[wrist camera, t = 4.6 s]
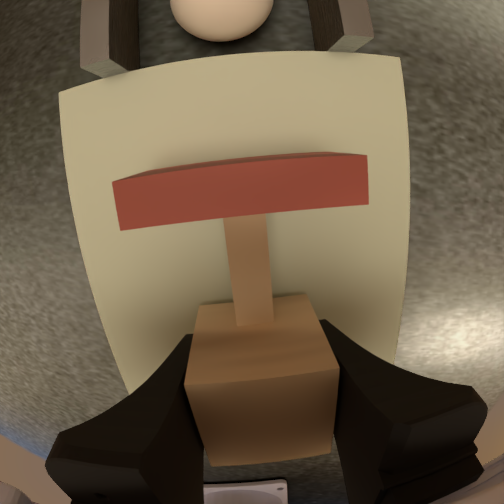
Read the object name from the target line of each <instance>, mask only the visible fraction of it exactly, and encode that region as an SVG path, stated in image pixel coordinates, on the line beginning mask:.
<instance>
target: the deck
mask: <svg viewBox="0 0 504 504" xmlns="http://www.w3.org/2000/svg"><path fill="white" fill-rule="evenodd" d="M59 107H60V121H61V133H62V143H63V152H64V160H65V168H66V175H67V181H68V187H69V193H70V199H71V205H72V210H73V215H74V220H75V225H76V230H77V234H78V239H79V243H80V247H81V252H82V256H83V260H84V264H85V267H86V271H87V275H88V279H89V282H90V286H91V289H92V293H93V296H94V299H95V303H96V306H97V309H98V312H99V315H100V318H101V321H102V324H103V327H104V330H105V333H106V336H107V339H108V342H109V345H110V347H111V350H112V353H113V355H114V358H115V361H116V363H117V366H118V368H119V371H120V373H121V376H122V378H123V381H124V383H125V385H126V388H127V390H128V392H129V395H130V394H131V393H132V392H134V391H135V390H136V389H137V388H138V387H140V386H141V385H142V384H143V383H144V382H145V381H146V380H147V379H148V378H149V377H150V376H151V375H152V374H153V373H154V372H155V371H156V370H157V369H158V368H159V366H160V365H161V364H162V363H163V362H164V361H165V359H166V358H167V357H168V356H169V355H170V353H171V352H172V351H173V350H174V348H175V347H176V346H177V344H178V343H179V342H180V341H181V339H182V338H183V337H184V336H185V335H186V334H194V329H195V323H196V318H197V313H198V309H199V306H200V305H211V304H221V303H231V302H234V301H233V293H232V286H231V278H230V270H229V263H228V255H227V247H226V239H225V231H224V223H223V218H219V219H210V220H202V221H193V222H185V223H177V224H169V225H161V226H153V227H146V228H138V229H131V230H124V231H120V227H119V222H118V216H117V211H116V205H115V199H114V193H113V187H112V182H113V181H116V180H119V179H122V178H125V177H128V176H132V175H135V174H138V173H141V172H145V171H148V170H153V169H160V168H166V167H172V166H179V165H186V164H193V163H201V162H209V161H217V160H226V159H235V158H244V157H255V156H266V155H278V154H292V153H308V152H340V153H351V154H361V155H367V161H368V186H369V205H357V206H344V207H332V208H320V209H308V210H297V211H286V212H276V213H266V226H267V237H268V249H269V261H270V273H271V286H272V298H277V297H286V296H294V295H302V294H307V296H308V298H309V301H310V303H311V305H312V307H313V309H314V311H315V314H316V316H317V318H318V320H321V319H326V320H327V321H329V322H330V323H331V324H332V325H334V326H335V327H336V328H337V329H339V330H340V331H341V332H342V333H344V334H345V335H346V336H347V337H349V338H350V339H351V340H353V341H354V342H356V343H357V344H358V345H360V346H361V347H363V348H364V349H366V350H367V351H369V352H371V353H372V354H374V355H376V356H377V357H379V358H381V359H383V360H385V361H387V362H389V363H391V364H394V359H395V354H396V348H397V342H398V336H399V330H400V323H401V316H402V308H403V300H404V291H405V282H406V271H407V258H408V243H409V221H410V161H409V139H408V124H407V112H406V102H405V92H404V84H403V76H402V69H401V62H400V58H399V57H392V56H383V55H374V54H363V53H349V52H329V51H278V52H257V53H243V54H232V55H222V56H213V57H206V58H198V59H191V60H185V61H179V62H173V63H168V64H162V65H157V66H152V67H148V68H143V69H139V70H134V71H130V72H126V73H122V74H118V75H114V76H110V77H107V78H103V79H100V80H96V81H93V82H90V83H86V84H83V85H80V86H77V87H74V88H71V89H68V90H65V91H62V92H59Z"/></svg>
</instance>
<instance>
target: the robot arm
mask: <svg viewBox="0 0 504 504" xmlns="http://www.w3.org/2000/svg"><path fill="white" fill-rule="evenodd" d="M319 322H320V325H321V327H322V329H323V331H324V333H325V336H326V338H327V340H328V342H329V345H330V347H331V349H332V351H333V354H334V356H335V358H336V360H337V363H338V365H339V367H340V371H339V383H338V394H337V404H336V413H335V422H334V430H333V434H334V437H335V441H336V445H337V449H338V453H339V457H340V461H341V466H342V470H343V475H344V479H345V485H346V490H347V495H348V500H349V504H504V453H503V454H502V455H500V456H498V457H497V458H495V459H494V460H491V461H490V462H488V463H486V464H484V465H483V466H482V465H481V464H480V462H479V460H478V459H477V457H476V455H475V454H476V453H477V451H478V448H477V447H476V445H475V444H474V442H473V441H474V440H475V438H476V436H477V434H478V433H479V431H480V429H481V427H482V426H483V424H484V421H485V419H486V417H487V411H488V407H487V405H486V403H485V402H484V401H483V400H482V398H481V397H480V396H479V395H478V393H477V392H476V391H475V390H474V388H473V387H472V386H467V385H460V384H453V383H447V382H442V381H438V380H434V379H430V378H427V377H423V376H420V375H417V374H415V373H412V372H409V371H406V370H404V369H401V368H399V367H397V366H395V365H393V364H391V363H389V362H387V361H385V360H383V359H381V358H379V357H377V356H376V355H374V354H372V353H371V352H369V351H367V350H366V349H364V348H363V347H361V346H360V345H358V344H357V343H356V342H354V341H353V340H351V339H350V338H349V337H347V336H346V335H345V334H344V333H342V332H341V331H340V330H339V329H337V328H336V327H335V326H334V325H332V324H331V323H330V322H329V321H327V320H326V319H321V320H319ZM192 339H193V334H186V335H185V336H184V337H183V338H182V339H181V341H180V342H179V343H178V344H177V346H176V347H175V348H174V350H173V351H172V352H171V353H170V355H169V356H168V357H167V358H166V359H165V361H164V362H163V363H162V364H161V365H160V366H159V368H158V369H157V370H156V371H155V372H154V373H153V374H152V375H151V376H150V377H149V378H148V379H147V380H146V381H145V382H144V383H143V384H142V385H141V386H140V387H138V388H137V389H136V390H135V391H134V392H132V393H131V394H130V395H129V396H127V397H126V398H125V399H123V400H122V401H120V402H119V403H117V404H116V405H114V406H113V407H111V408H110V409H108V410H107V411H105V412H103V413H102V414H100V415H98V416H96V417H94V418H92V419H90V420H88V421H86V422H84V423H82V424H79V425H77V426H75V427H72V428H70V429H67V430H65V431H62V432H59V434H58V436H57V438H56V440H55V442H54V444H53V447H52V449H51V451H50V453H49V455H48V457H47V460H46V463H45V467H46V470H47V472H48V474H49V475H50V477H51V478H52V479H53V481H54V482H55V483H56V484H57V485H58V486H59V487H60V488H61V489H62V490H63V491H64V492H65V493H66V494H67V495H68V496H69V497H70V498H71V499H72V501H71V504H288V499H287V482H286V480H283V479H279V480H270V481H260V482H248V483H231V484H204V482H203V452H204V445H203V442H202V439H201V436H200V433H199V430H198V427H197V424H196V421H195V418H194V415H193V412H192V409H191V406H190V403H189V400H188V397H187V393H186V390H185V387H184V382H185V376H186V371H187V365H188V360H189V354H190V349H191V344H192ZM0 504H38V503H35V502H32V501H31V500H30V499H29V498H28V497H27V496H26V495H25V494H24V493H23V492H22V491H20V490H19V489H17V488H15V487H13V486H11V485H8V484H6V483H4V482H1V481H0Z"/></svg>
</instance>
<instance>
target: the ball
mask: <svg viewBox="0 0 504 504" xmlns="http://www.w3.org/2000/svg"><path fill="white" fill-rule="evenodd" d="M273 1H274V0H170V6H171V10H172V13H173V15H174V17H175V19H176V21H177V22H178V23H179V25H180V26H181V27H182V28H183V29H185V30H186V31H187V32H188V33H190V34H192V35H194V36H196V37H198V38H201V39H204V40H208V41H216V42H223V41H232V40H236V39H239V38H242V37H245V36H247V35H249V34H250V33H252V32H254V31H255V30H256V29H257V28H259V27H260V26H261V25H262V24H263V23H264V21H265V20H266V19H267V17H268V16H269V14H270V12H271V9H272V6H273Z"/></svg>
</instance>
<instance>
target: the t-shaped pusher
mask: <svg viewBox="0 0 504 504" xmlns="http://www.w3.org/2000/svg"><path fill="white" fill-rule="evenodd" d="M112 187H113V193H114V199H115V205H116V211H117V216H118V222H119V227H120V231H124V230H131V229H138V228H146V227H153V226H161V225H169V224H177V223H185V222H193V221H202V220H210V219H219V218H223V223H224V231H225V239H226V247H227V255H228V263H229V270H230V278H231V286H232V293H233V301H234V302H231V303H221V304H211V305H200V306H199V309H198V313H197V318H196V323H195V329H194V334H193V339H192V344H191V349H190V354H189V360H188V365H187V371H186V376H185V382H184V387H185V390H186V393H187V397H188V400H189V403H190V406H191V409H192V412H193V415H194V418H195V421H196V424H197V427H198V430H199V433H200V436H201V439H202V442H203V445H204V448H205V450H206V453H207V456H208V459H209V461H210V464H211V466H233V465H248V464H259V463H269V462H278V461H285V460H293V459H299V458H306V457H312V456H317V455H323V454H328V453H331V446H332V438H333V430H334V422H335V413H336V404H337V394H338V383H339V371H340V367H339V365H338V363H337V360H336V358H335V356H334V354H333V351H332V349H331V347H330V345H329V342H328V340H327V338H326V336H325V333H324V331H323V329H322V327H321V325H320V322H319V320H318V318H317V316H316V314H315V311H314V309H313V307H312V305H311V303H310V301H309V298H308V296H307V294H302V295H294V296H286V297H277V298H272V286H271V273H270V261H269V249H268V237H267V226H266V213H276V212H286V211H297V210H308V209H320V208H332V207H344V206H357V205H369V186H368V161H367V155H361V154H351V153H340V152H308V153H292V154H278V155H266V156H255V157H244V158H235V159H226V160H217V161H209V162H201V163H193V164H186V165H179V166H172V167H166V168H160V169H153V170H148V171H145V172H141V173H138V174H135V175H132V176H128V177H125V178H122V179H119V180H116V181H113V182H112Z"/></svg>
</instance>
